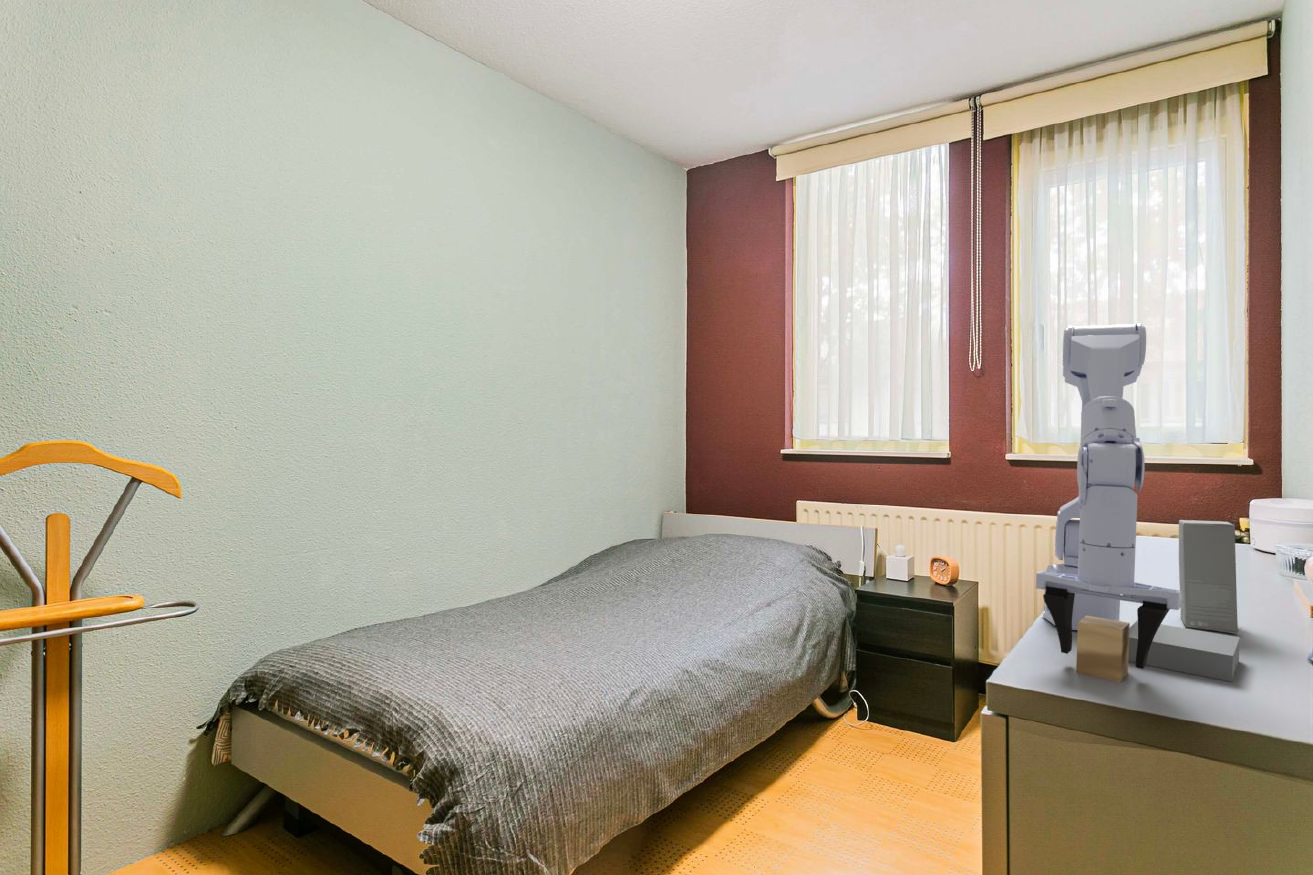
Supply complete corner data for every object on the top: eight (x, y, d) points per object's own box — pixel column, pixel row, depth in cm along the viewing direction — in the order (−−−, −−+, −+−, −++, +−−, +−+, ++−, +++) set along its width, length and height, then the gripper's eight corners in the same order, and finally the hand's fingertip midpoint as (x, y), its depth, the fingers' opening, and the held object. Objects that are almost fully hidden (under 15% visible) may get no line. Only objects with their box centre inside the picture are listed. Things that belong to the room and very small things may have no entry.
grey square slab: (1231, 681, 85) (1232, 655, 85) (1120, 659, 92) (1121, 635, 92) (1238, 660, 93) (1239, 637, 93) (1136, 642, 100) (1137, 620, 100)
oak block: (1120, 682, 84) (1122, 629, 84) (1076, 672, 87) (1077, 622, 87) (1127, 673, 87) (1129, 622, 87) (1084, 664, 90) (1086, 615, 90)
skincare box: (1238, 635, 105) (1243, 525, 105) (1177, 627, 109) (1181, 521, 109) (1230, 623, 113) (1234, 520, 112) (1173, 615, 116) (1177, 516, 116)
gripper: (1030, 539, 89) (1026, 651, 89) (1176, 556, 79) (1171, 682, 79) (1046, 534, 94) (1042, 640, 94) (1185, 549, 84) (1180, 667, 84)
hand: (1102, 658), depth 87 cm, fingers open, 7 cm apart
